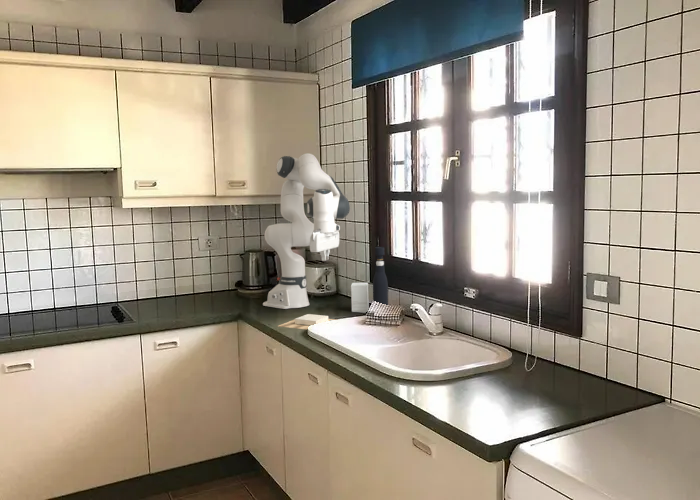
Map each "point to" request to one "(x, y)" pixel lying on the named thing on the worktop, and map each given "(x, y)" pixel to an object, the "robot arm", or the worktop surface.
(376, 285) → the navy water bottle
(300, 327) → the trivet
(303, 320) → the tile
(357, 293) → the supplement box
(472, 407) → the worktop surface
